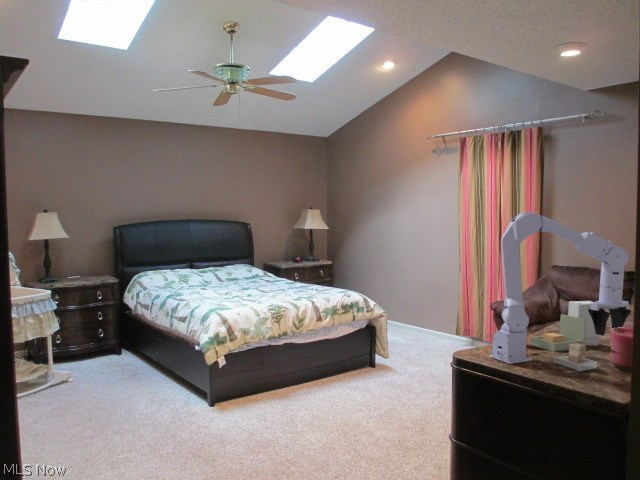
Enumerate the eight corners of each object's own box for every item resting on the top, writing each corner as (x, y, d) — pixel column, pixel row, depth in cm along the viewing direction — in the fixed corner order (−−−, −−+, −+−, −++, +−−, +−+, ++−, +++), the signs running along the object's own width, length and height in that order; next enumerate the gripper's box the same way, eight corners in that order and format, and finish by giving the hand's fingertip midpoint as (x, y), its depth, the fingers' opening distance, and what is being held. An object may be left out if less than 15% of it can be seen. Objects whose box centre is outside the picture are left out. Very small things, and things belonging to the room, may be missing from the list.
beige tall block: (577, 367, 141) (579, 346, 141) (568, 364, 144) (569, 343, 143) (584, 366, 142) (585, 345, 142) (575, 363, 145) (576, 343, 145)
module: (552, 348, 161) (553, 336, 161) (542, 345, 165) (542, 333, 164) (562, 347, 163) (563, 335, 163) (552, 344, 167) (553, 332, 167)
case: (554, 352, 158) (555, 321, 157) (530, 345, 166) (532, 316, 165) (583, 349, 164) (585, 319, 164) (560, 342, 172) (561, 314, 172)
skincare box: (587, 342, 174) (589, 300, 174) (599, 346, 168) (602, 303, 168) (565, 342, 173) (567, 300, 172) (576, 346, 167) (579, 303, 166)
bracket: (577, 371, 138) (578, 353, 138) (553, 363, 145) (554, 347, 145) (596, 368, 142) (597, 351, 142) (572, 361, 149) (573, 344, 148)
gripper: (608, 289, 135) (605, 338, 136) (640, 288, 142) (637, 335, 143) (584, 286, 142) (581, 333, 142) (616, 284, 148) (613, 329, 149)
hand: (608, 333), depth 143 cm, fingers open, 7 cm apart
